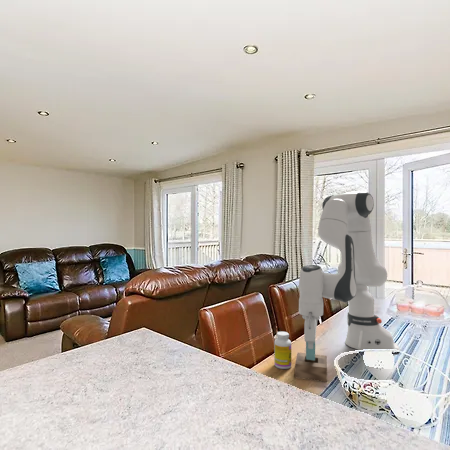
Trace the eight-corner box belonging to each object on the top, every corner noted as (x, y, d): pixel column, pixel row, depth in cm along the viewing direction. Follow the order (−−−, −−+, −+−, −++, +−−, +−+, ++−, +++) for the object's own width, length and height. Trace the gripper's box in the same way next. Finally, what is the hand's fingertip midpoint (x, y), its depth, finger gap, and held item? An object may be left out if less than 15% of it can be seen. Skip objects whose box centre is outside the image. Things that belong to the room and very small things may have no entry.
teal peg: (315, 357, 119) (315, 325, 119) (314, 360, 116) (315, 328, 116) (306, 356, 120) (306, 324, 120) (305, 359, 117) (306, 327, 117)
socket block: (326, 368, 122) (326, 355, 122) (327, 382, 111) (326, 367, 111) (297, 365, 125) (297, 352, 125) (295, 377, 115) (295, 363, 115)
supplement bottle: (291, 370, 120) (291, 336, 120) (274, 369, 122) (273, 335, 122) (291, 363, 127) (291, 331, 127) (274, 361, 128) (274, 330, 128)
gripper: (319, 317, 107) (319, 358, 107) (320, 303, 127) (320, 337, 127) (300, 315, 109) (300, 355, 109) (304, 302, 129) (304, 336, 129)
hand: (310, 346), depth 118 cm, fingers closed on teal peg, 3 cm apart
